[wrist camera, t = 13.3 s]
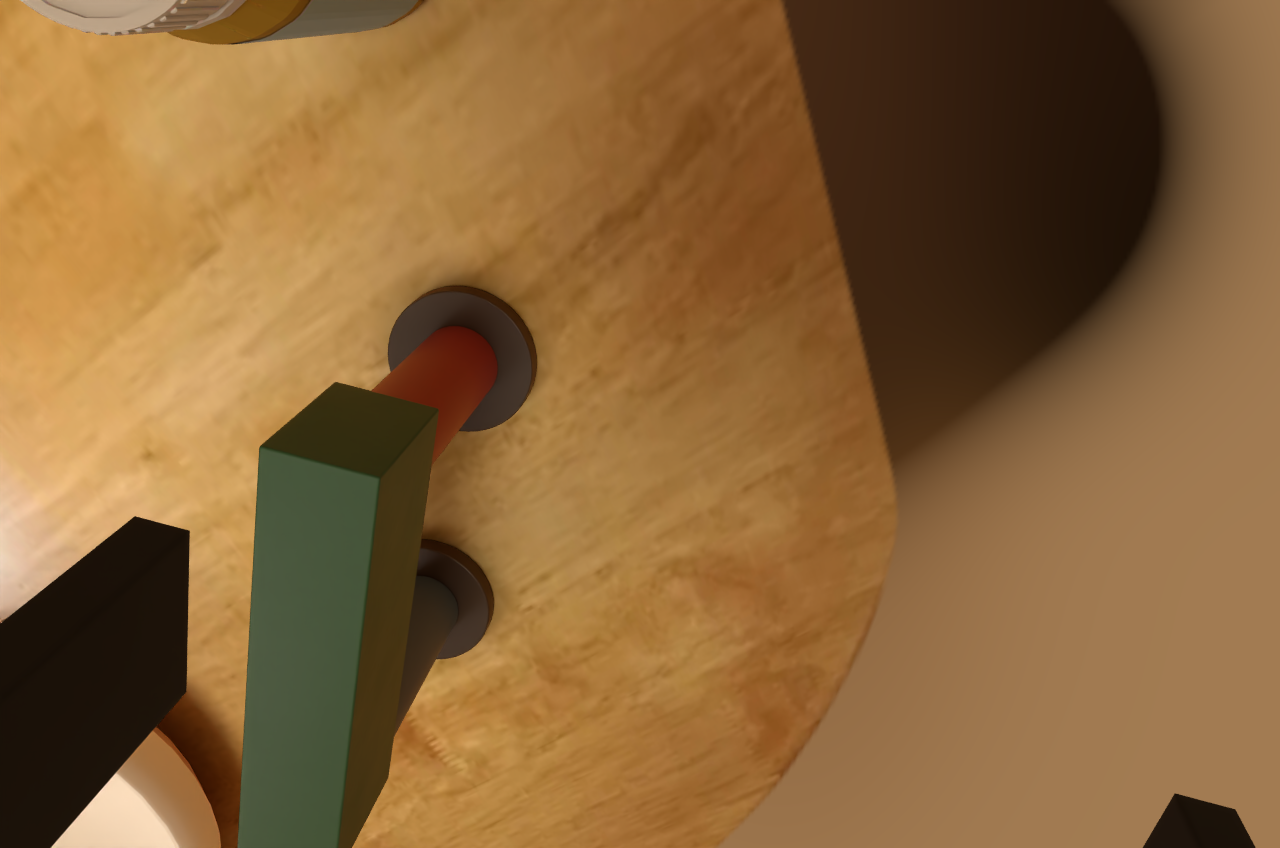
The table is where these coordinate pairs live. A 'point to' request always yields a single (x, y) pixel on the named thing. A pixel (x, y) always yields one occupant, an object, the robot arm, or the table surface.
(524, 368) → the red peg on stand
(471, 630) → the grey cylinder on disc
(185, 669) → the robot arm
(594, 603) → the table surface
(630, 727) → the table surface
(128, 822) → the bowl
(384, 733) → the green bar
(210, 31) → the bottle
